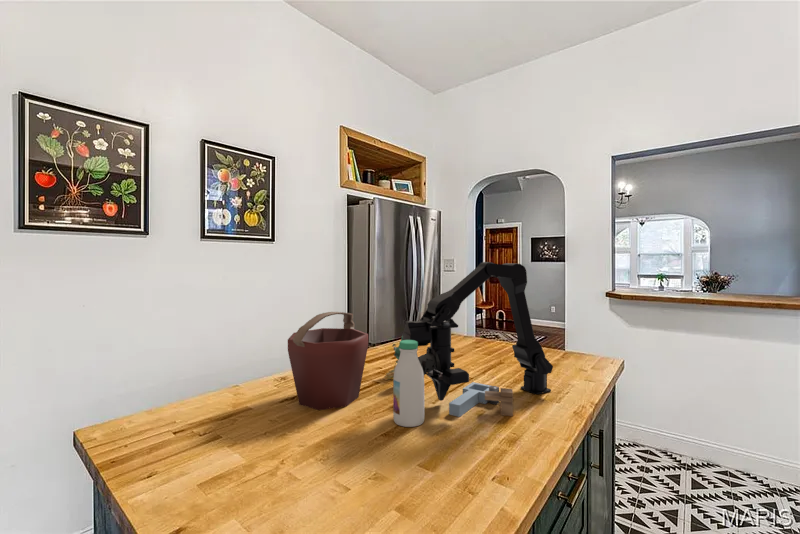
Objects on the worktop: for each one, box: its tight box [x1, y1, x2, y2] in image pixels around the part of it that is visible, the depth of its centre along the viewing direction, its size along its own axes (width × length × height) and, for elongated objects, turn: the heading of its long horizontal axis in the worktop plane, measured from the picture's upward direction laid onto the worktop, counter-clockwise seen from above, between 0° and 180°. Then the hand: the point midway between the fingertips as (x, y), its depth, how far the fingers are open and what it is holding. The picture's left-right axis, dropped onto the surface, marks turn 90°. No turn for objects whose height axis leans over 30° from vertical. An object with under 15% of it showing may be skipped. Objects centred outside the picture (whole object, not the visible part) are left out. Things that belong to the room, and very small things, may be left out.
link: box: [448, 381, 491, 418], centre depth 106 cm, size 19×7×3 cm, turn 145°
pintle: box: [488, 385, 500, 405], centre depth 108 cm, size 3×3×4 cm
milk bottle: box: [392, 340, 425, 428], centre depth 95 cm, size 8×8×20 cm
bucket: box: [287, 311, 369, 411], centre depth 111 cm, size 24×22×25 cm
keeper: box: [485, 387, 514, 417], centre depth 100 cm, size 4×7×6 cm, turn 77°
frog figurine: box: [382, 335, 403, 381], centre depth 134 cm, size 10×18×15 cm, turn 129°
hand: (440, 400), depth 106 cm, fingers closed
